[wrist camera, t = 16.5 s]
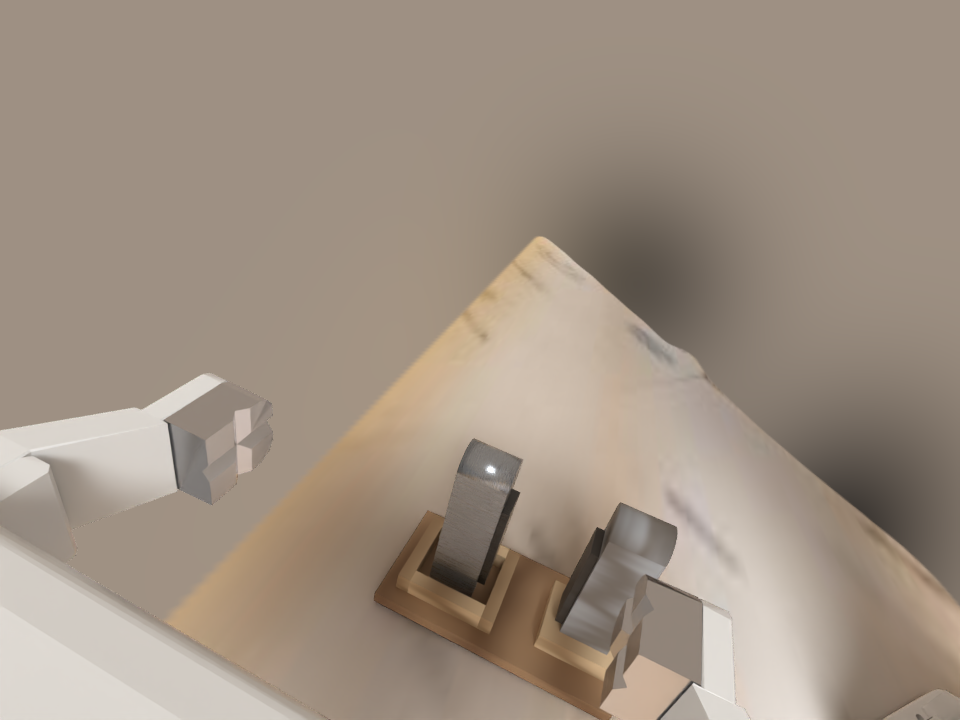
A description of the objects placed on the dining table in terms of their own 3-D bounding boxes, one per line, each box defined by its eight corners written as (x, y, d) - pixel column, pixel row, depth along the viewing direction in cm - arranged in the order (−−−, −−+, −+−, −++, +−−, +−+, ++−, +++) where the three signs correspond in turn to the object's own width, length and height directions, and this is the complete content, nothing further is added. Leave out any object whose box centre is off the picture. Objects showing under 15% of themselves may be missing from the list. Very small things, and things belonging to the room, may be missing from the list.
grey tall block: (490, 572, 43) (534, 454, 35) (477, 603, 40) (521, 483, 33) (444, 550, 44) (478, 430, 36) (428, 579, 41) (461, 456, 34)
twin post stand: (624, 612, 43) (700, 494, 36) (606, 722, 36) (698, 605, 28) (426, 517, 47) (456, 392, 39) (373, 600, 40) (397, 466, 32)
